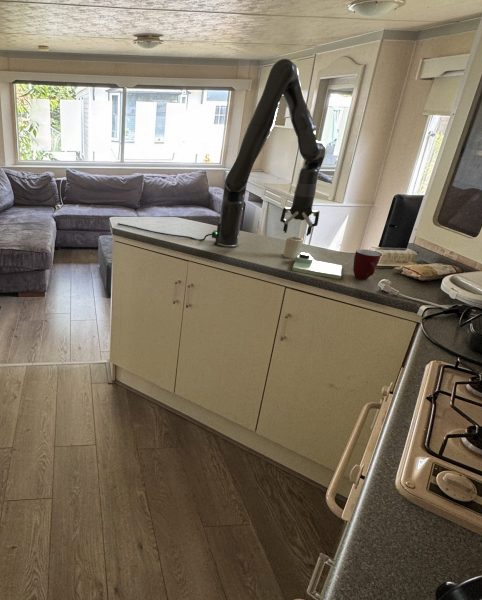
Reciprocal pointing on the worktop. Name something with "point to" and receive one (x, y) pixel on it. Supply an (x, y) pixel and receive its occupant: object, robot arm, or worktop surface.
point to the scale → (317, 267)
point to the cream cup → (292, 247)
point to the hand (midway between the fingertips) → (296, 233)
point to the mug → (365, 263)
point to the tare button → (304, 255)
